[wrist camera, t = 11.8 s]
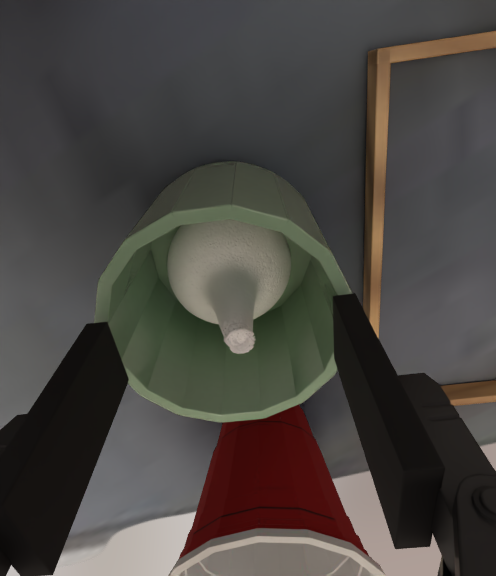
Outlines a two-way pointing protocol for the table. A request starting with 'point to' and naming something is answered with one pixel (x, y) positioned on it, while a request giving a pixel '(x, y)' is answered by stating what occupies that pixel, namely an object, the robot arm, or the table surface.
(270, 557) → the plastic cup
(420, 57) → the frame
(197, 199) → the cup
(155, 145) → the table surface
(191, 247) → the garlic bulb
